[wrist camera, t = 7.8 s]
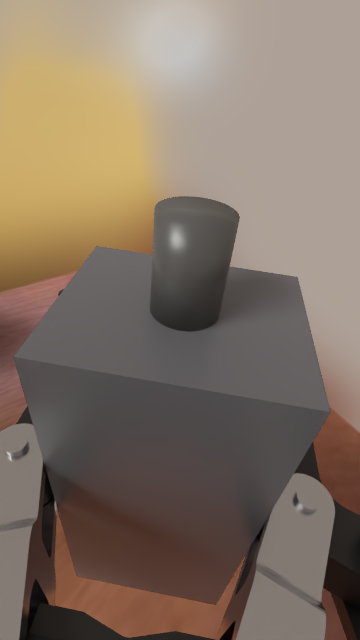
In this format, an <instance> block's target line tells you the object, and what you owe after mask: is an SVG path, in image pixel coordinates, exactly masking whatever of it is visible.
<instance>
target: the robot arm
mask: <svg viewBox="0 0 360 640" xmlns="http://www.w3.org/2000/svg"><path fill="white" fill-rule="evenodd" d="M56 518H57V506H56V502H55V499H54V495H53V492H52V488H51V485H50V482H49V478H48V475H47V471H46V468H45V464H44V461H43V457H42V454H41V450H40V447H39V444H38V440H37V437H36V433H35V430H34V426H33V423H32V419H31V416H30V412H29V409H28V406H27V408H26V409H25V411H24V413H23V414H22V416H21V418H20V419H19V421H18V422H17V423H16V424H15V425H12V426H10V427H7V428H5V429H4V430H2V431H1V432H0V640H214V639H210V638H205V637H200V636H195V635H191V634H186V633H181V632H176V631H175V632H167V633H160V634H153V635H146V636H139V637H132V638H127V637H123V636H121V635H120V634H118V633H116V632H115V631H113V630H112V629H110V628H108V627H107V626H105V625H104V624H102V623H100V622H99V621H97V620H96V619H94V618H92V617H91V616H89V615H88V614H86V613H84V612H81V611H77V610H72V609H67V608H62V607H58V606H55V594H56V580H55V566H54V554H55V536H56ZM323 588H324V589H326V590H328V591H329V592H331V594H332V597H333V600H334V603H335V606H336V609H337V612H338V615H339V617H340V620H341V623H342V626H343V629H344V632H345V635H346V637H347V640H360V516H359V515H357V514H355V513H353V512H352V511H350V510H348V509H346V508H344V507H343V506H341V505H340V504H338V503H337V502H336V501H335V500H334V499H333V498H332V497H331V495H330V493H329V492H328V490H327V489H326V488H325V487H324V486H323V485H322V483H321V480H320V477H319V473H318V468H317V462H316V456H315V451H314V445H313V442H312V444H311V446H310V447H309V449H308V451H307V452H306V454H305V456H304V457H303V459H302V461H301V462H300V464H299V466H298V467H297V469H296V471H295V472H294V474H293V476H292V477H291V479H290V481H289V483H288V484H287V486H286V488H285V489H284V491H283V493H282V494H281V496H280V498H279V499H278V501H277V503H276V504H275V506H274V507H273V508H272V509H271V511H270V513H269V515H268V516H267V519H266V521H265V523H264V525H263V526H262V528H261V530H260V531H259V533H258V535H257V536H256V538H255V540H254V541H253V542H252V543H251V545H250V547H249V548H248V551H247V554H246V557H245V560H244V563H243V566H242V569H241V572H240V575H239V578H238V581H237V584H236V587H235V590H234V593H233V595H232V598H231V601H230V603H229V605H228V608H227V610H226V612H225V615H224V617H223V620H222V623H221V626H220V628H219V631H218V634H217V637H216V640H324V637H325V629H326V612H325V609H324V607H323V606H322V601H321V598H322V590H323Z"/></svg>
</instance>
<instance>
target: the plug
mask: <svg viewBox="0 0 360 640" xmlns="http://www.w3.org/2000/svg"><path fill="white" fill-rule="evenodd" d="M239 218H240V217H239V214H238V213H237V212H236V211H235V210H234V209H233V208H231V207H230V206H228V205H226V204H223V203H221V202H218V201H215V200H211V199H205V198H200V197H173V198H168V199H164V200H162V201H160V202H158V203H157V204H156V206H155V213H154V234H153V254H152V255H151V254H144V253H138V252H131V251H125V250H118V249H112V248H105V247H99V246H96V248H95V249H94V250H93V252H92V253H91V254H90V256H89V257H88V258H87V260H86V261H85V262H84V264H83V265H82V266H81V268H80V269H79V270H78V271H77V273H76V274H75V275H74V277H73V278H72V279H71V281H70V282H69V283H68V285H67V286H66V287H65V289H64V290H63V291H62V293H61V294H60V295H59V297H58V298H57V299H56V301H55V302H54V303H53V305H52V306H51V307H50V309H49V310H48V311H47V313H46V314H45V315H44V317H43V318H42V319H41V321H40V322H39V323H38V325H37V326H36V327H35V329H34V330H33V331H32V333H31V334H30V335H29V337H28V338H27V339H26V341H25V342H24V343H23V345H22V346H21V347H20V349H19V350H18V351H17V353H16V354H15V355H14V361H15V364H16V367H17V371H18V374H19V378H20V381H21V385H22V388H23V392H24V395H25V399H26V402H27V405H28V409H29V412H30V416H31V419H32V423H33V426H34V430H35V433H36V437H37V440H38V444H39V447H40V450H41V454H42V457H43V461H44V464H45V468H46V471H47V475H48V478H49V482H50V485H51V488H52V492H53V495H54V499H55V502H56V506H57V509H58V513H59V516H60V520H61V523H62V526H63V530H64V533H65V537H66V540H67V544H68V547H69V551H70V554H71V558H72V561H73V564H74V568H75V571H76V575H77V576H79V577H83V578H88V579H93V580H98V581H103V582H108V583H112V584H117V585H122V586H127V587H132V588H137V589H141V590H146V591H151V592H156V593H161V594H166V595H170V596H175V597H180V598H185V599H190V600H195V601H199V602H204V603H209V604H214V605H216V604H217V602H218V600H219V598H220V597H221V595H222V593H223V592H224V590H225V588H226V587H227V585H228V583H229V582H230V580H231V578H232V577H233V575H234V573H235V572H236V570H237V568H238V567H239V565H240V563H241V562H242V560H243V558H244V556H245V555H246V553H247V551H248V548H249V547H250V545H251V543H252V542H253V541H254V540H255V538H256V536H257V535H258V533H259V531H260V530H261V528H262V526H263V525H264V523H265V521H266V519H267V516H268V515H269V513H270V511H271V509H272V508H273V507H274V506H275V504H276V503H277V501H278V499H279V498H280V496H281V494H282V493H283V491H284V489H285V488H286V486H287V484H288V483H289V481H290V479H291V477H292V476H293V474H294V472H295V471H296V469H297V467H298V466H299V464H300V462H301V461H302V459H303V457H304V456H305V454H306V452H307V451H308V449H309V447H310V446H311V444H312V442H313V440H314V439H315V437H316V435H317V434H318V432H319V430H320V429H321V427H322V425H323V424H324V422H325V420H326V419H327V417H328V415H329V414H330V408H329V404H328V400H327V396H326V392H325V388H324V383H323V379H322V375H321V372H320V367H319V363H318V359H317V355H316V351H315V347H314V342H313V339H312V334H311V330H310V326H309V322H308V318H307V314H306V310H305V306H304V302H303V297H302V294H301V289H300V285H299V281H298V278H297V277H293V276H287V275H280V274H274V273H268V272H261V271H254V270H248V269H242V268H235V267H229V266H230V262H231V257H232V252H233V247H234V243H235V238H236V233H237V228H238V223H239Z"/></svg>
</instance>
